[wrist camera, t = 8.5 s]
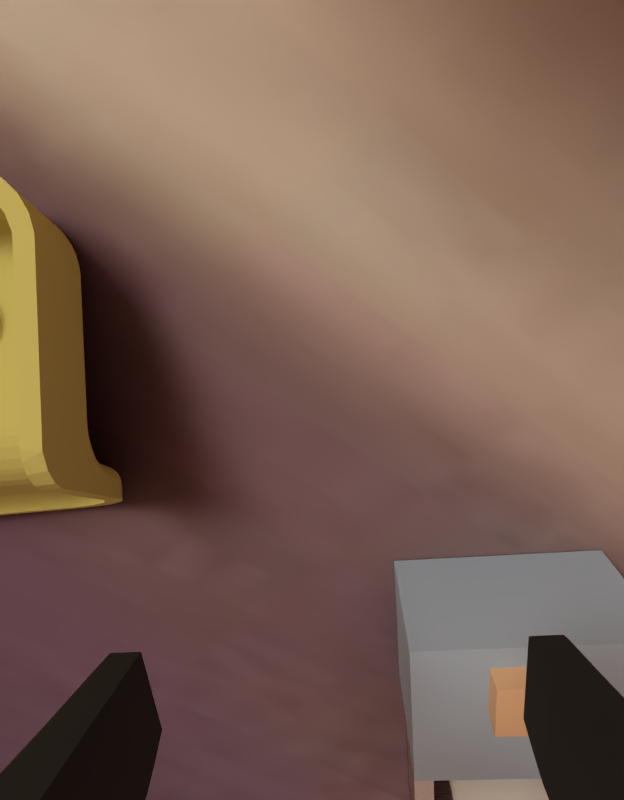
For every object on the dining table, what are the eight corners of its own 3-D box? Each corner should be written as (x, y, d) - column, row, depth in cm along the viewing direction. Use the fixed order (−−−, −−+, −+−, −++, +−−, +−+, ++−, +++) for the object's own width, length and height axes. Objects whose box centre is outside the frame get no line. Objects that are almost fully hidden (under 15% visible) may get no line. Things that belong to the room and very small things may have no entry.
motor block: (601, 550, 20) (690, 663, 15) (587, 667, 22) (661, 801, 17) (393, 560, 20) (413, 673, 15) (399, 673, 22) (417, 805, 18)
